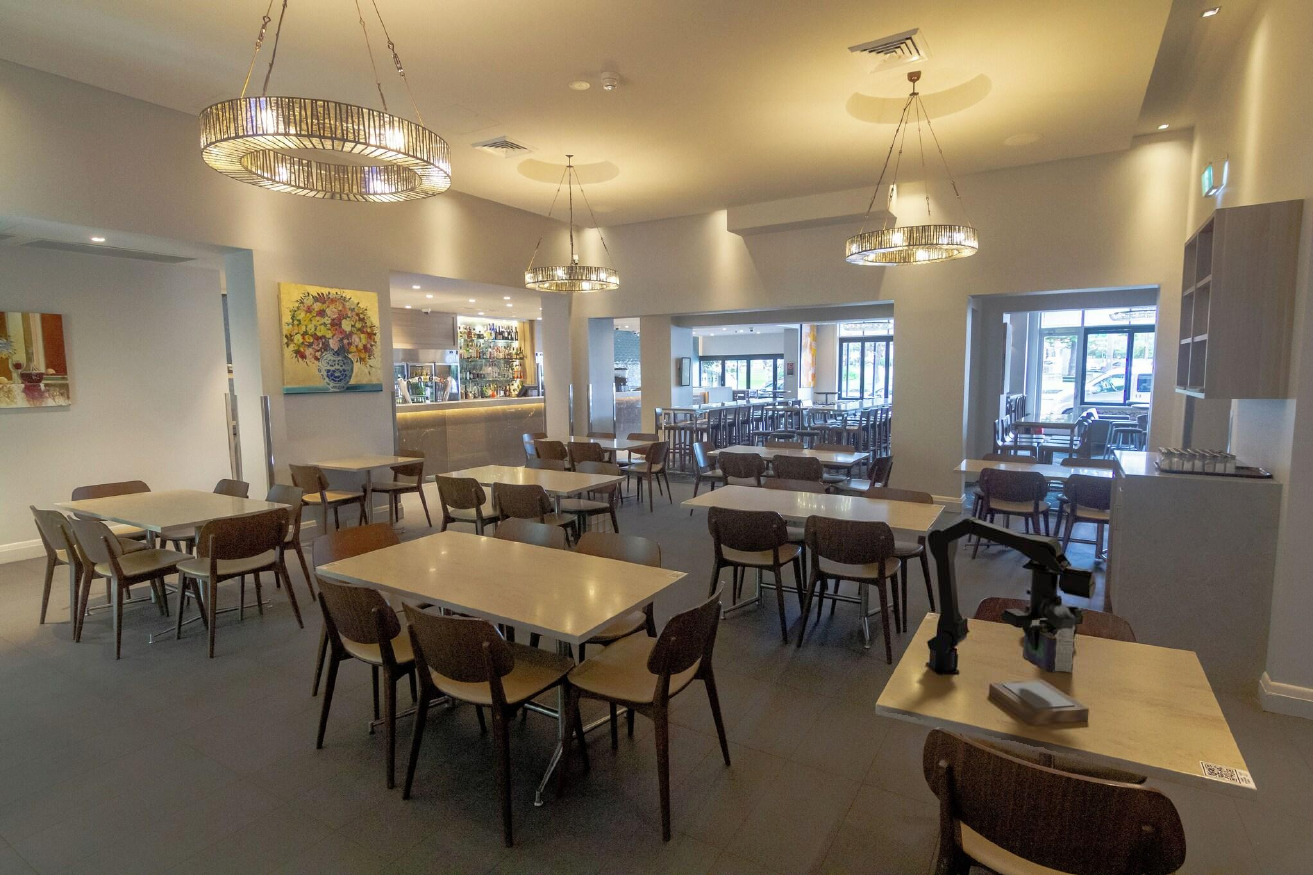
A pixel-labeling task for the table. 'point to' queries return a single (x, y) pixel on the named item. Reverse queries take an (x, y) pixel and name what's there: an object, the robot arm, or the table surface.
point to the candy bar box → (1064, 650)
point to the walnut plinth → (1038, 702)
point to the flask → (1041, 651)
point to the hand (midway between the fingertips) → (1039, 649)
